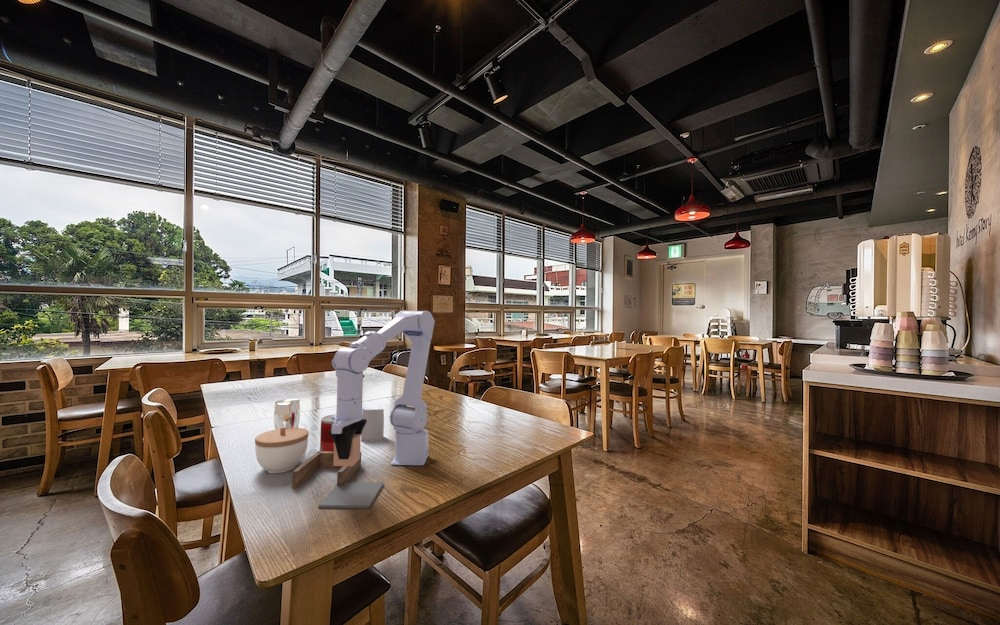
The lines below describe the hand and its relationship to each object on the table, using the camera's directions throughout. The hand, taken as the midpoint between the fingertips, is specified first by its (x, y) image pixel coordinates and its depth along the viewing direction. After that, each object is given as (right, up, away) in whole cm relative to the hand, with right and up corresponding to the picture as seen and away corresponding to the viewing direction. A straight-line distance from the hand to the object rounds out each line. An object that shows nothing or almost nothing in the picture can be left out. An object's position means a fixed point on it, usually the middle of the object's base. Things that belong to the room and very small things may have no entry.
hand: (348, 454), depth 87 cm
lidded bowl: (-24, -9, +13) cm, 28 cm away
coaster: (+2, -9, -2) cm, 9 cm away
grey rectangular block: (-7, -9, +37) cm, 39 cm away
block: (0, -2, 0) cm, 2 cm away
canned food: (-14, -9, +23) cm, 28 cm away
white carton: (-30, -9, +25) cm, 40 cm away
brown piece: (-8, -9, +8) cm, 15 cm away
